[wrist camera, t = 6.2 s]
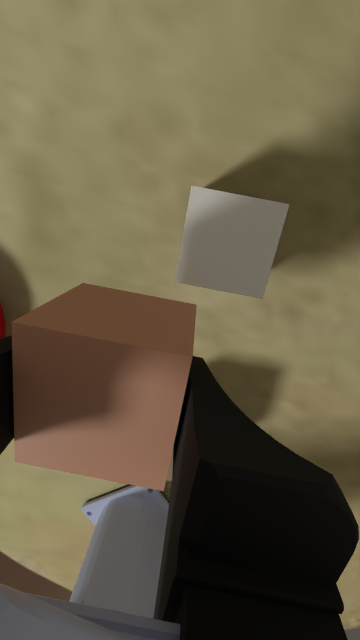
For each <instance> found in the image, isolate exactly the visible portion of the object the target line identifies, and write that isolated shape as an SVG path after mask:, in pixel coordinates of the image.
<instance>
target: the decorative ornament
mask: <svg viewBox="0 0 360 640" xmlns="http://www.w3.org/2000/svg"><path fill="white" fill-rule="evenodd" d="M4 335H5V319H4V314H3V310H2V307H1V304H0V339H1V338H4Z"/></svg>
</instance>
